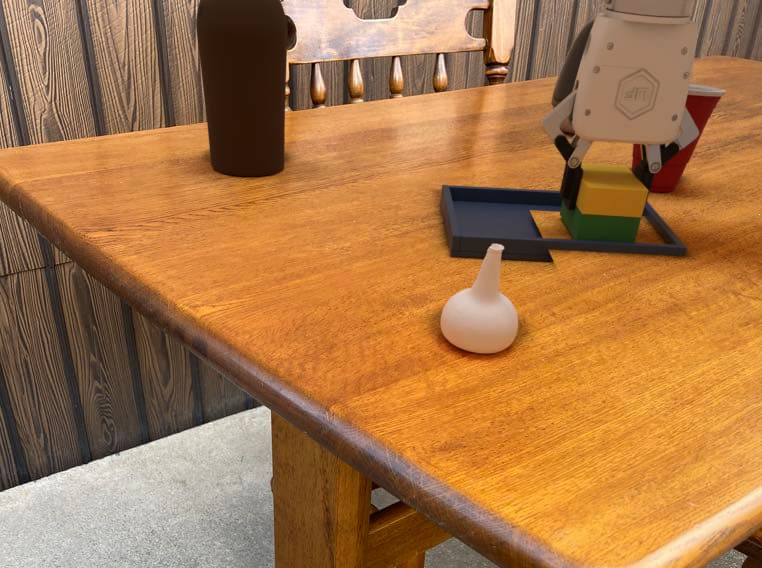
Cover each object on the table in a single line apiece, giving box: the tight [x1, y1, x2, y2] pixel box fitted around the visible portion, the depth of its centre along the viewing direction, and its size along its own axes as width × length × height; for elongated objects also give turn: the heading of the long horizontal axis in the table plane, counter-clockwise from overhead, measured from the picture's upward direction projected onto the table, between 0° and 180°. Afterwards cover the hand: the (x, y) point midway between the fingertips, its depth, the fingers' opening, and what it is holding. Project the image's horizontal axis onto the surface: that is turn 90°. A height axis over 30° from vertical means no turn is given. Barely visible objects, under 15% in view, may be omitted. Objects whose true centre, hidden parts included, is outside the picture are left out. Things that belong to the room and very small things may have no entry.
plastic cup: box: [630, 83, 727, 193], centre depth 99 cm, size 11×11×12 cm
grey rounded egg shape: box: [550, 18, 596, 135], centre depth 120 cm, size 10×10×15 cm
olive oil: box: [195, 0, 289, 177], centre depth 93 cm, size 11×11×25 cm
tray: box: [439, 184, 688, 263], centre depth 86 cm, size 24×18×2 cm
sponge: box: [559, 162, 649, 243], centre depth 81 cm, size 9×6×5 cm, turn 179°
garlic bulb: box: [440, 244, 519, 354], centre depth 62 cm, size 6×6×8 cm
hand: (600, 206), depth 81 cm, fingers closed on sponge, 6 cm apart
